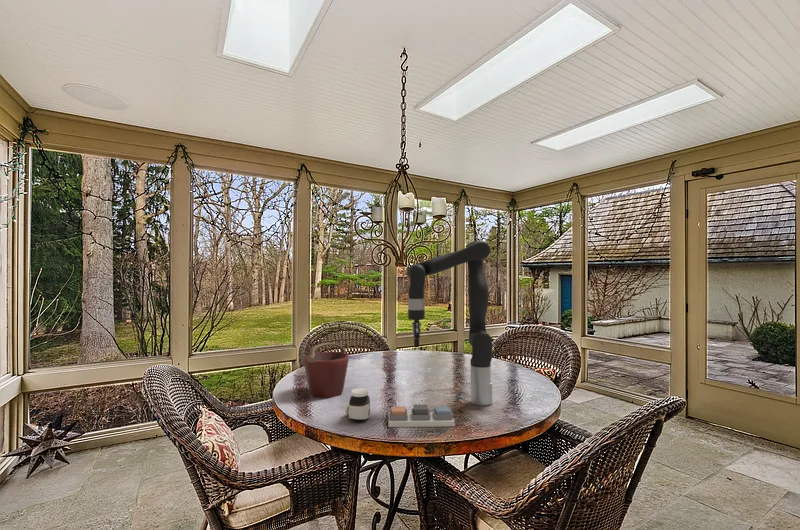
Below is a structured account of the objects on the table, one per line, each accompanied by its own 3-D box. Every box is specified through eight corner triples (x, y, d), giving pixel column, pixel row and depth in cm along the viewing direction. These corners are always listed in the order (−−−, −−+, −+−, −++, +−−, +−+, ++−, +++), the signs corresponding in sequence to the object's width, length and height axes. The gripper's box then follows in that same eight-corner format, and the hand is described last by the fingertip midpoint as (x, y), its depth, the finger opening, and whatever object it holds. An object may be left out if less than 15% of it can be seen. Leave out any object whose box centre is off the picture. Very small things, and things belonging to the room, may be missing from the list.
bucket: (313, 403, 178) (313, 349, 178) (293, 392, 195) (293, 343, 195) (358, 393, 193) (357, 343, 194) (335, 383, 210) (335, 337, 211)
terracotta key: (405, 412, 159) (405, 406, 159) (405, 417, 153) (405, 411, 153) (391, 412, 158) (391, 406, 159) (391, 417, 153) (391, 411, 153)
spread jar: (364, 424, 153) (363, 395, 153) (338, 422, 156) (337, 393, 156) (374, 414, 165) (374, 386, 165) (349, 411, 168) (349, 384, 168)
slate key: (448, 411, 159) (448, 406, 159) (450, 417, 153) (450, 411, 153) (435, 412, 159) (435, 406, 159) (436, 417, 153) (436, 411, 153)
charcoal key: (426, 410, 159) (426, 404, 159) (428, 415, 153) (428, 409, 153) (413, 410, 159) (413, 404, 159) (414, 415, 153) (414, 409, 153)
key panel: (450, 416, 161) (450, 407, 161) (454, 426, 151) (454, 416, 151) (388, 417, 161) (388, 407, 161) (388, 427, 151) (388, 416, 151)
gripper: (425, 309, 167) (426, 349, 167) (423, 307, 180) (423, 344, 180) (408, 310, 167) (408, 350, 167) (407, 307, 180) (407, 344, 180)
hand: (416, 346), depth 173 cm, fingers closed
